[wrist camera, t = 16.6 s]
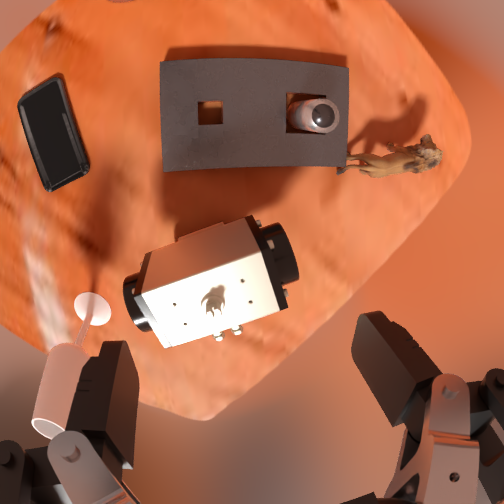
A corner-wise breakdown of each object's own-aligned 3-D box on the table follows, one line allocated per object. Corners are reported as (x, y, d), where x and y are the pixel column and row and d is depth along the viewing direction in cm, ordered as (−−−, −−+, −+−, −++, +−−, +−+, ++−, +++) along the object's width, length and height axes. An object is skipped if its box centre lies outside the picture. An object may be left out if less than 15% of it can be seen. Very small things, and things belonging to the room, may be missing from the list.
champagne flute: (116, 323, 46) (88, 448, 25) (82, 326, 46) (43, 443, 24) (104, 289, 44) (59, 414, 22) (68, 294, 43) (13, 410, 21)
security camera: (162, 287, 45) (152, 373, 29) (138, 239, 41) (109, 313, 25) (274, 247, 46) (316, 319, 30) (258, 194, 42) (299, 246, 26)
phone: (46, 194, 35) (15, 101, 28) (50, 192, 36) (19, 101, 29) (91, 172, 35) (59, 73, 29) (93, 170, 36) (62, 74, 30)
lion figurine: (406, 127, 41) (444, 134, 33) (413, 158, 43) (450, 169, 35) (329, 157, 41) (360, 168, 33) (340, 190, 44) (370, 208, 36)
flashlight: (286, 100, 37) (306, 97, 30) (314, 101, 37) (340, 100, 30) (285, 128, 39) (306, 132, 31) (313, 129, 39) (339, 134, 32)
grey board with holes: (162, 65, 32) (159, 61, 30) (340, 69, 36) (348, 67, 34) (165, 168, 38) (163, 172, 36) (338, 163, 42) (345, 166, 40)
